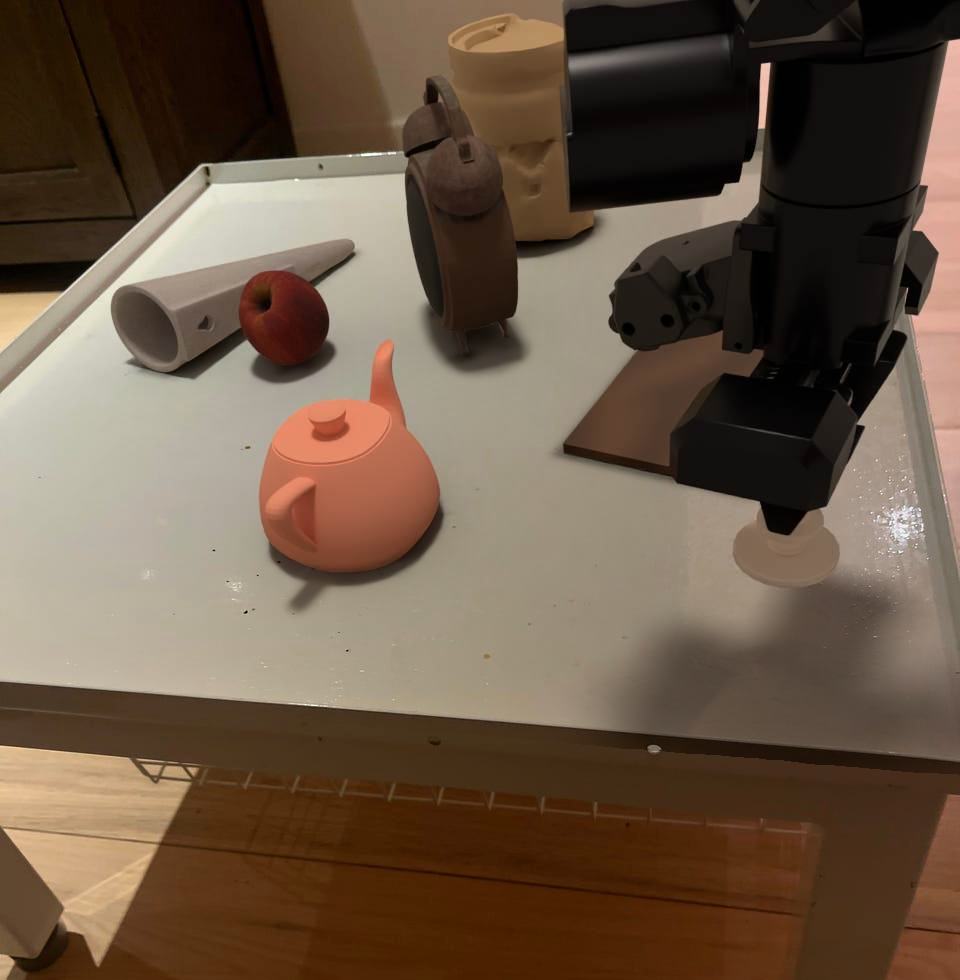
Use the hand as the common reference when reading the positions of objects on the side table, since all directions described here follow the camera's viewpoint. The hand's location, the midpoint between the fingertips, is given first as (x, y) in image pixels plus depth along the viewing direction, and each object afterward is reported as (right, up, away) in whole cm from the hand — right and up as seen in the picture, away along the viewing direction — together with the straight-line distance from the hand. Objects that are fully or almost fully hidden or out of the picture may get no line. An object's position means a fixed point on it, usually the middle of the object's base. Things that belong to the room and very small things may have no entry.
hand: (792, 507), depth 47 cm
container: (-10, +35, +52) cm, 63 cm away
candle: (0, -2, +2) cm, 3 cm away
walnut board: (+2, +12, +26) cm, 29 cm away
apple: (-32, +19, +39) cm, 54 cm away
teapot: (-24, +2, +21) cm, 32 cm away
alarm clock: (-16, +21, +39) cm, 47 cm away
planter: (-38, +26, +47) cm, 66 cm away
